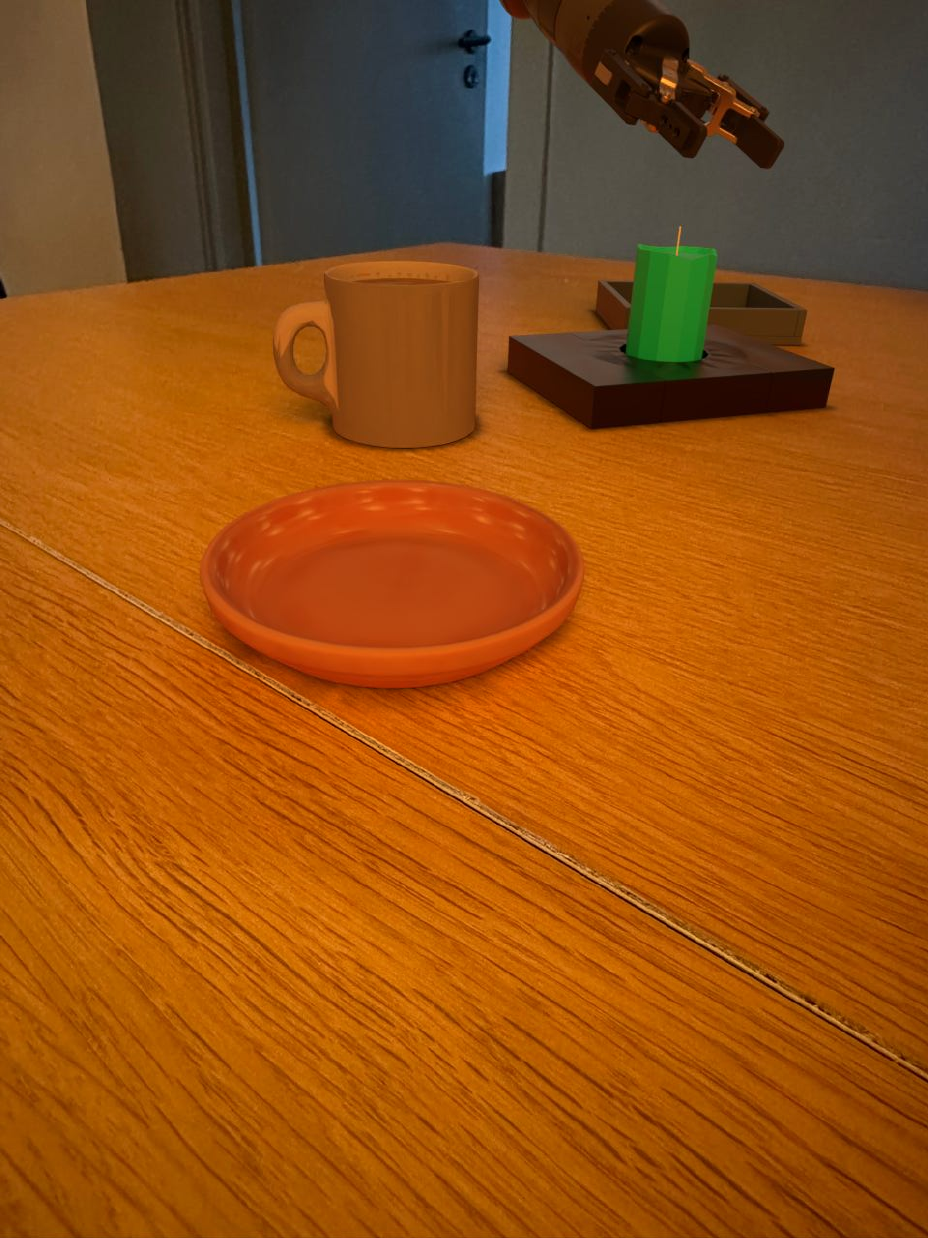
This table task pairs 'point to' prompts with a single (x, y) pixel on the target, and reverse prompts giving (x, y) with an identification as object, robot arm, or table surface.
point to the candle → (670, 302)
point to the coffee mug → (391, 351)
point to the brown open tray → (720, 310)
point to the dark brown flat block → (665, 378)
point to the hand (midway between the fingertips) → (738, 151)
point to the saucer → (392, 581)
